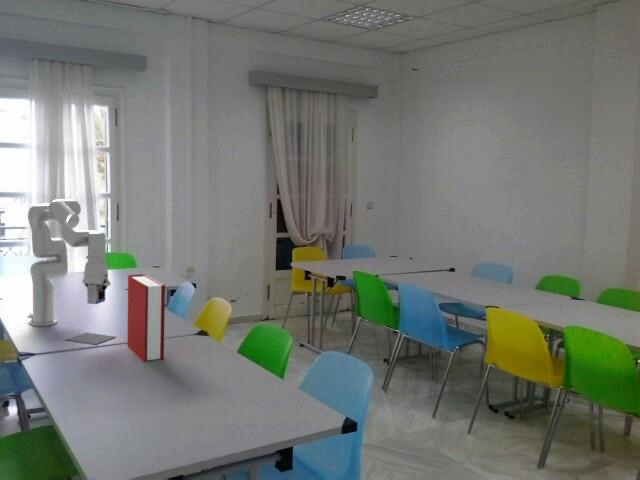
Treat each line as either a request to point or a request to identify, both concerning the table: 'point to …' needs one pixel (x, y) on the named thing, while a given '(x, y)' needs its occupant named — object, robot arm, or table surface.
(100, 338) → the charcoal rubber mat
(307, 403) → the table surface
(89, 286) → the medicine box
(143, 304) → the book
